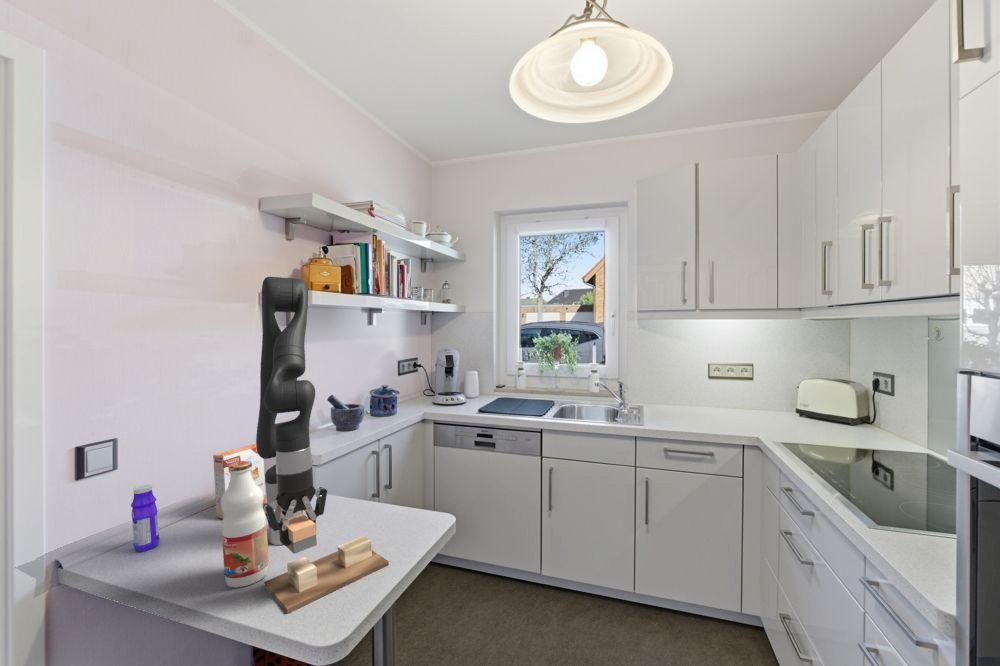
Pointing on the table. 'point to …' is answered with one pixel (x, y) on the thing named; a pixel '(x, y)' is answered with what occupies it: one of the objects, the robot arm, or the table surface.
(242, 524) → the fruit juice
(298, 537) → the cover
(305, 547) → the housing base
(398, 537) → the table surface
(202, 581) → the table surface
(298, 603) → the twin stand
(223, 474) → the cracker box
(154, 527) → the bottle
